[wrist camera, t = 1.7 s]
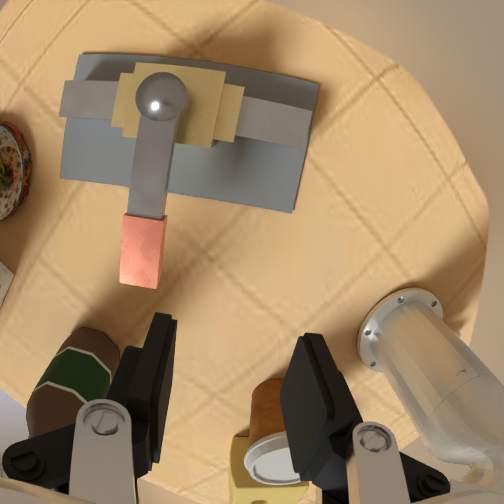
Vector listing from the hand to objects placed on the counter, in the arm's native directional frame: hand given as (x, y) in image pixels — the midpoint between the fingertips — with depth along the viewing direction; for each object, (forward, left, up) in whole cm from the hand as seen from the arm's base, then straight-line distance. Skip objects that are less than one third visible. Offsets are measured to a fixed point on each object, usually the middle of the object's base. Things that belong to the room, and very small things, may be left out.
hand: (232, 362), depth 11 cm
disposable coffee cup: (-10, +23, -23) cm, 34 cm away
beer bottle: (+14, +20, -23) cm, 33 cm away
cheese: (-11, +37, -23) cm, 45 cm away
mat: (+6, -8, -22) cm, 24 cm away
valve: (+6, -9, -22) cm, 25 cm away
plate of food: (+28, -1, -23) cm, 36 cm away
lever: (+6, -3, -14) cm, 16 cm away
